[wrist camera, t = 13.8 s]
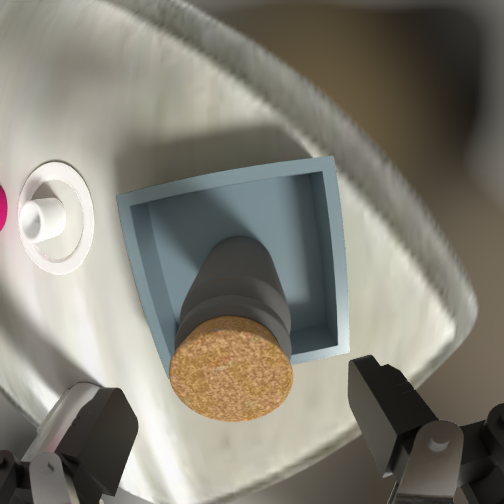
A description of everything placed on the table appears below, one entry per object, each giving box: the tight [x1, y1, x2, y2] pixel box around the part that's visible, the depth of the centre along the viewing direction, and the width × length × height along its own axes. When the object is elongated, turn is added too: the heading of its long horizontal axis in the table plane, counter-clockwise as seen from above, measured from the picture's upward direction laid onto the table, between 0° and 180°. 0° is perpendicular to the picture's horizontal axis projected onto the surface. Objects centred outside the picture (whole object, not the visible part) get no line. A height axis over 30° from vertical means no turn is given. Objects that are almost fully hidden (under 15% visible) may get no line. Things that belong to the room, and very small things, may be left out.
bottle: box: [169, 236, 293, 422], centre depth 17 cm, size 6×6×15 cm
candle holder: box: [17, 162, 94, 275], centre depth 22 cm, size 12×12×4 cm
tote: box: [116, 156, 349, 379], centre depth 23 cm, size 16×16×5 cm
